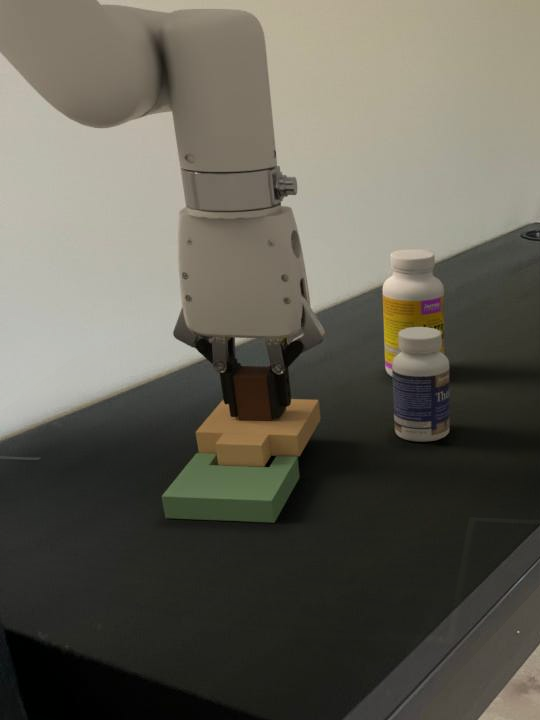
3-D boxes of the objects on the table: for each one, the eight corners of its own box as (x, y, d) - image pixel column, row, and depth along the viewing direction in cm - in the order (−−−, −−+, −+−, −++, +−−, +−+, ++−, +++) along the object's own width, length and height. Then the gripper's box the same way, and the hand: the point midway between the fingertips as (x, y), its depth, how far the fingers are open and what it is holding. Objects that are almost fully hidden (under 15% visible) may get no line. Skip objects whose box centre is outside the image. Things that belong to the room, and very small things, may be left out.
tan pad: (189, 464, 85) (178, 396, 81) (227, 417, 94) (219, 354, 91) (293, 468, 84) (285, 399, 81) (320, 420, 94) (315, 357, 90)
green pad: (165, 518, 80) (161, 496, 79) (199, 473, 87) (196, 452, 86) (274, 523, 79) (272, 500, 78) (299, 477, 87) (297, 456, 86)
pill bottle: (446, 444, 94) (445, 342, 88) (390, 442, 94) (386, 339, 89) (452, 424, 98) (452, 325, 93) (399, 422, 98) (395, 323, 93)
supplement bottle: (424, 386, 107) (421, 263, 100) (374, 376, 110) (368, 255, 103) (455, 370, 112) (455, 251, 105) (407, 360, 115) (403, 244, 108)
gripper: (342, 186, 82) (356, 401, 92) (148, 182, 83) (183, 396, 93) (323, 201, 75) (341, 430, 85) (114, 197, 76) (156, 425, 86)
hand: (258, 410), depth 89 cm, fingers closed on tan pad, 3 cm apart
